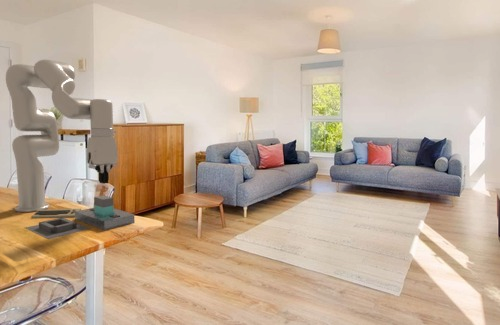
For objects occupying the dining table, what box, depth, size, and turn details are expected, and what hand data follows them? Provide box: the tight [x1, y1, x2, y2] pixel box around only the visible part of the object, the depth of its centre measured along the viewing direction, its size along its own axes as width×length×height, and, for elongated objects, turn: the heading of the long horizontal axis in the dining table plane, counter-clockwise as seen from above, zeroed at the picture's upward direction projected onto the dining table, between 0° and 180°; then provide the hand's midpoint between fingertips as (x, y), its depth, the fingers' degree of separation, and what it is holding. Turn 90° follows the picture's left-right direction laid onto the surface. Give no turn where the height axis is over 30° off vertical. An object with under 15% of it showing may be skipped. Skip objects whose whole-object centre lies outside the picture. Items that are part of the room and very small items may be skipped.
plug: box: [93, 195, 114, 216], centre depth 127 cm, size 6×4×10 cm, turn 55°
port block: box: [74, 207, 135, 231], centre depth 127 cm, size 20×12×4 cm, turn 54°
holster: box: [24, 217, 92, 240], centre depth 117 cm, size 18×14×3 cm
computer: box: [30, 208, 82, 219], centre depth 133 cm, size 16×8×3 cm, turn 101°
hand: (103, 182), depth 126 cm, fingers closed
